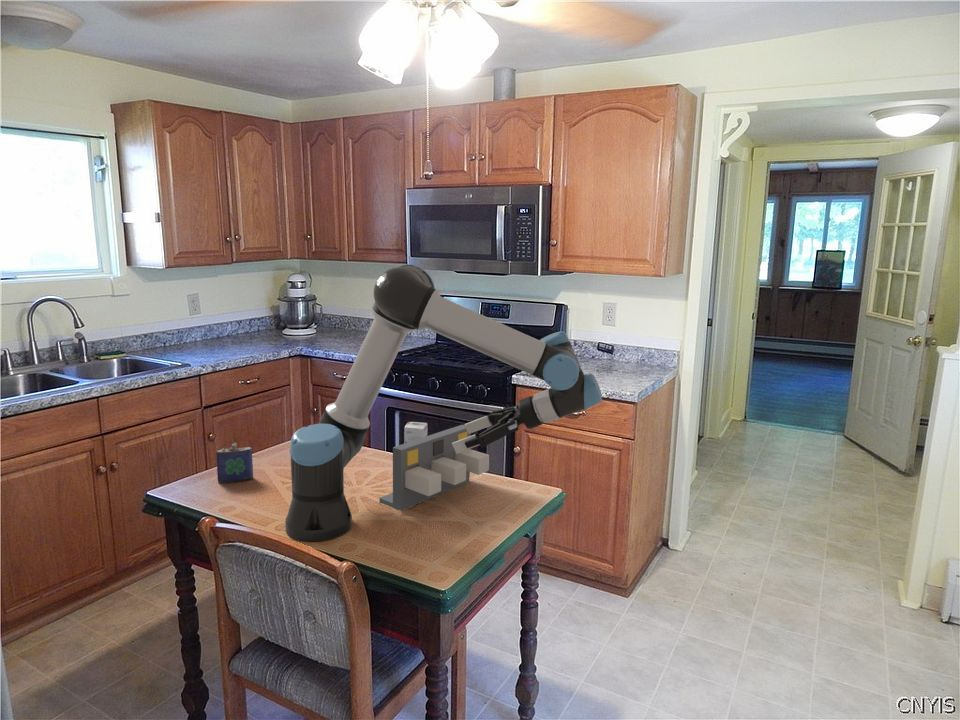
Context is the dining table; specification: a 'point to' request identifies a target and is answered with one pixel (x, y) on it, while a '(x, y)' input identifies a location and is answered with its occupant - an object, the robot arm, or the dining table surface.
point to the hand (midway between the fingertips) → (460, 438)
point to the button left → (422, 480)
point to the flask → (234, 464)
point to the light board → (421, 465)
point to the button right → (473, 461)
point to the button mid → (449, 470)
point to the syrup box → (414, 431)
